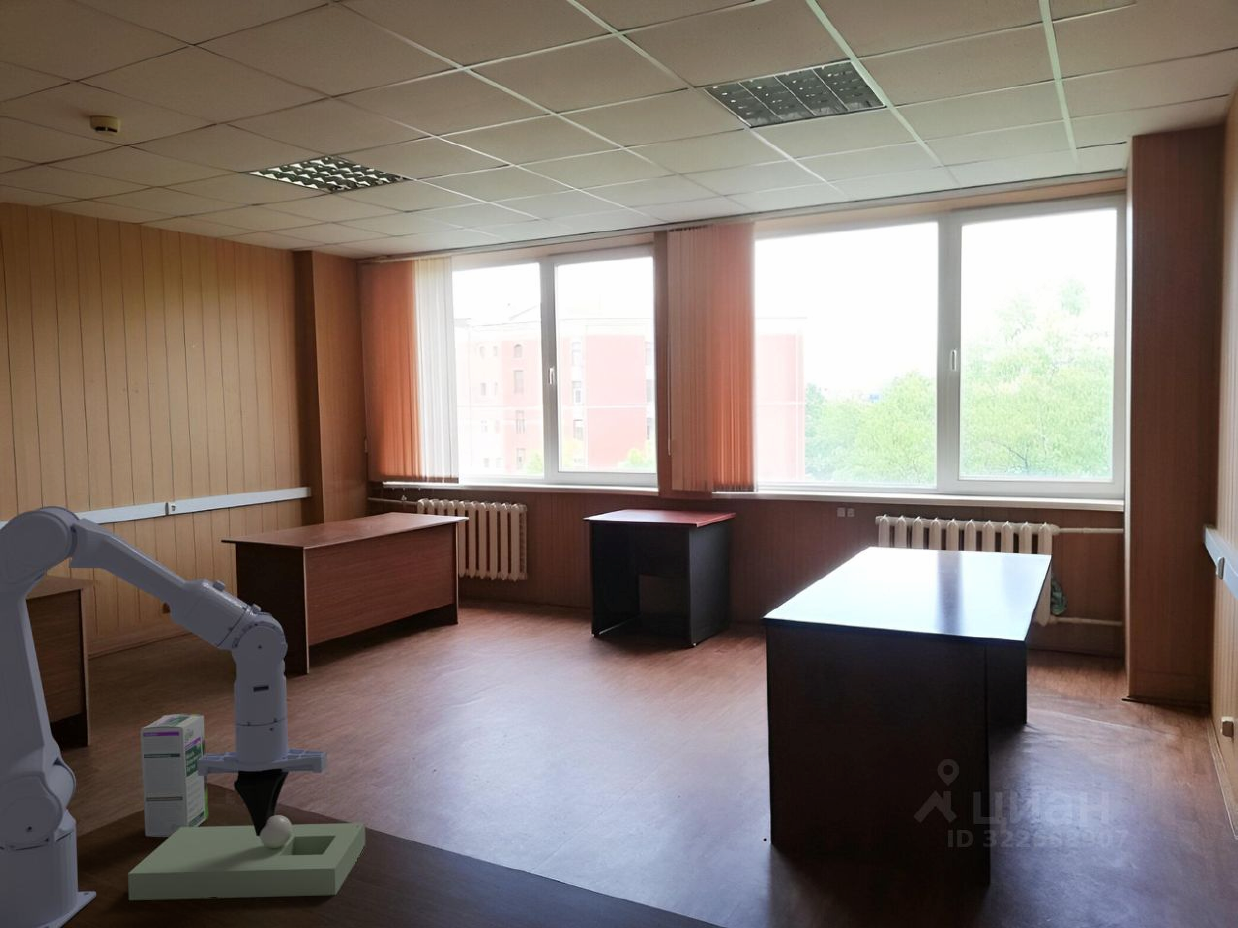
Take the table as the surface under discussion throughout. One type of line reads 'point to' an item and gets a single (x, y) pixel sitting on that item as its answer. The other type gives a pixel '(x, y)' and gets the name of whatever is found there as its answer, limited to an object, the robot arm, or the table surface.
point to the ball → (276, 831)
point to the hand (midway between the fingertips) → (264, 832)
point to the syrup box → (173, 774)
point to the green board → (248, 863)
